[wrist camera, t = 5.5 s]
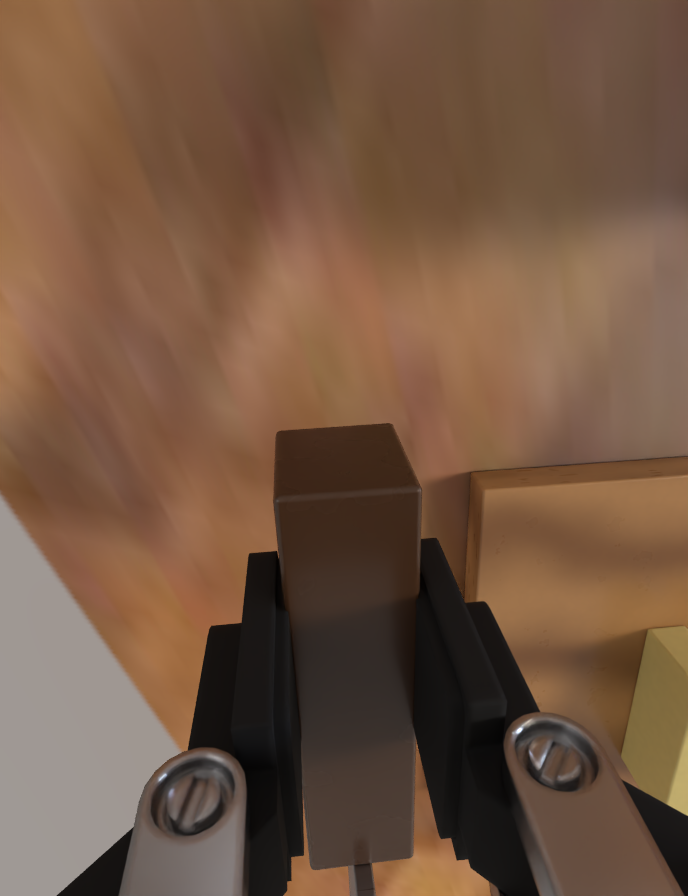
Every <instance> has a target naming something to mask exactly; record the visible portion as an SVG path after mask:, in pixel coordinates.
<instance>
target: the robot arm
mask: <svg viewBox="0 0 688 896" xmlns="http://www.w3.org/2000/svg"><path fill="white" fill-rule="evenodd" d="M414 732H415V736H416V740H417V744H418V749H419V753H420V757H421V761H422V766H423V770H424V774H425V778H426V783H427V787H428V791H429V795H430V800H431V804H432V808H433V812H434V817H435V821H436V825H437V829H438V833H439V836H440V838H441V839H445V838H451V839H452V843H453V847H454V851H455V855H456V859H457V860H465V859H468V860H469V864H470V867H471V868H472V869H473V870H474V871H476V872H477V873H478V874H480V875H481V876H482V877H484V878H485V879H486V880H488V881H489V886H490V893H491V896H688V816H687V815H685V814H683V813H681V812H680V811H678V810H676V809H674V808H672V807H671V806H669V805H667V804H665V803H663V802H662V801H660V800H658V799H656V798H654V797H653V796H651V795H649V794H647V793H645V792H644V791H642V790H640V789H638V788H636V787H635V786H633V785H631V784H629V783H627V782H625V781H624V780H622V779H621V778H620V776H619V774H618V773H617V771H616V769H615V767H614V765H613V763H612V762H611V760H610V758H609V756H608V754H607V752H606V750H605V749H604V748H603V746H602V745H601V743H600V742H599V741H598V739H597V738H596V737H595V736H594V735H593V734H592V733H591V732H590V731H589V730H587V729H586V728H585V727H584V726H583V725H581V724H579V723H577V722H576V721H574V720H572V719H570V718H568V717H565V716H562V715H558V714H555V713H548V712H540V710H539V708H538V706H537V704H536V702H535V700H534V698H533V695H532V693H531V691H530V689H529V687H528V685H527V683H526V681H525V679H524V677H523V675H522V673H521V671H520V669H519V667H518V665H517V663H516V660H515V658H514V656H513V654H512V652H511V650H510V648H509V646H508V644H507V642H506V640H505V638H504V636H503V634H502V632H501V630H500V627H499V625H498V623H497V621H496V619H495V617H494V615H493V613H492V611H491V609H490V607H489V606H488V604H487V603H486V602H484V601H478V602H467V603H465V602H464V599H463V597H462V595H461V592H460V590H459V588H458V585H457V583H456V581H455V578H454V576H453V574H452V572H451V569H450V567H449V565H448V562H447V560H446V558H445V555H444V553H443V551H442V548H441V546H440V544H439V541H438V540H437V538H428V539H421V555H420V596H419V599H417V600H416V640H415V688H414ZM303 855H304V834H303V797H302V760H301V735H300V725H299V715H298V705H297V695H296V684H295V674H294V664H293V654H292V644H291V633H290V623H289V613H288V611H286V610H285V609H284V602H283V592H282V583H281V573H280V563H279V558H278V553H277V551H272V552H261V553H250V554H249V557H248V566H247V576H246V586H245V595H244V605H243V615H242V623H238V624H227V625H216V626H211V627H210V629H209V633H208V638H207V644H206V649H205V655H204V661H203V666H202V672H201V678H200V684H199V689H198V695H197V701H196V706H195V712H194V718H193V723H192V729H191V735H190V741H189V746H188V751H184V752H182V753H180V754H178V755H177V756H175V757H173V758H171V759H169V760H168V761H167V762H165V763H164V764H163V765H162V766H161V767H160V768H159V769H157V770H156V771H155V772H154V774H153V775H152V777H151V778H150V779H149V781H148V782H147V784H146V785H145V787H144V790H143V793H142V795H141V798H140V801H139V805H138V809H137V814H136V818H135V823H134V827H133V828H132V829H131V830H130V831H129V832H127V833H126V834H125V835H124V836H123V837H122V838H121V839H120V840H119V841H117V842H116V843H115V844H114V845H113V846H112V847H111V848H110V849H109V850H107V851H106V852H105V853H104V854H103V855H102V856H101V857H99V858H98V859H97V860H96V861H95V862H94V863H93V864H92V865H91V866H89V867H88V868H87V869H86V870H85V871H84V872H83V873H82V874H80V875H79V876H78V877H77V878H76V879H75V880H74V881H73V882H72V883H70V884H69V885H68V886H67V887H66V888H65V889H64V890H63V891H61V892H60V893H59V894H58V895H57V896H283V895H284V894H285V893H286V891H287V881H291V857H295V856H303Z"/></svg>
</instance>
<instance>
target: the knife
mask: <svg viewBox="0 0 688 896" xmlns="http://www.w3.org/2000/svg"><path fill="white" fill-rule="evenodd" d="M273 504H274V514H275V523H276V533H277V543H278V553H279V563H280V573H281V583H282V592H283V602H284V609H285V610H286V611H288V613H289V623H290V633H291V644H292V654H293V664H294V674H295V684H296V695H297V705H298V715H299V725H300V735H301V760H302V790H303V800H304V809H305V819H306V829H307V839H308V849H309V859H310V866H311V868H312V869H313V870H320V869H328V868H336V867H344V866H348V870H349V889H350V896H376V892H375V884H374V877H373V869H372V863H376V862H384V861H392V860H400V859H408V858H411V857H412V856H413V848H414V806H415V764H416V736H415V732H414V688H415V640H416V600H417V599H419V596H420V555H421V513H422V488H421V486H420V484H419V482H418V480H417V477H416V475H415V473H414V471H413V469H412V466H411V464H410V462H409V460H408V458H407V455H406V453H405V451H404V449H403V447H402V444H401V442H400V440H399V438H398V435H397V433H396V431H395V429H394V427H393V425H392V424H389V423H386V424H372V425H357V426H343V427H329V428H314V429H300V430H286V431H279V432H277V434H276V441H275V468H274V495H273Z"/></svg>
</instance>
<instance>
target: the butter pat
mask: <svg viewBox="0 0 688 896" xmlns="http://www.w3.org/2000/svg"><path fill="white" fill-rule="evenodd" d="M621 758H622V760H623V761H624V763H625V765H626V766H627V768H628V770H629V771H630V773H631V775H632V776H633V778H634V780H635V781H636V783H637V785H638V786H639V788H640V790H642V791H644V792H645V793H647V794H649V795H651V796H653V797H654V798H656V799H658V800H660V801H662V802H663V803H665V804H667V805H669V806H671V807H672V808H674V809H676V810H678V811H680V812H681V813H683V814H685V815H687V816H688V629H687V628H686V627H685V626H674V627H663V628H652V629H648V631H647V636H646V640H645V645H644V650H643V654H642V659H641V664H640V669H639V673H638V678H637V683H636V687H635V692H634V697H633V701H632V706H631V711H630V715H629V720H628V725H627V730H626V734H625V739H624V744H623V748H622V753H621Z"/></svg>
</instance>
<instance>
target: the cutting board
mask: <svg viewBox="0 0 688 896" xmlns="http://www.w3.org/2000/svg"><path fill="white" fill-rule="evenodd" d="M478 601H484V602H486V603H487V604H488V606H489V607H490V609H491V611H492V613H493V615H494V617H495V619H496V621H497V623H498V625H499V627H500V630H501V632H502V634H503V636H504V638H505V640H506V642H507V644H508V646H509V648H510V650H511V652H512V654H513V656H514V658H515V660H516V663H517V665H518V667H519V669H520V671H521V673H522V675H523V677H524V679H525V681H526V683H527V685H528V687H529V689H530V691H531V693H532V695H533V698H534V700H535V702H536V704H537V706H538V708H539V710H540V712H548V713H555V714H558V715H562V716H565V717H568V718H570V719H572V720H574V721H576V722H577V723H579V724H581V725H583V726H584V727H585V728H586V729H587V730H589V731H590V732H591V733H592V734H593V735H594V736H595V737H596V738H597V739H598V741H599V742H600V743H601V745H602V746H603V748H604V749H605V750H606V752H607V754H608V756H609V758H610V760H611V762H612V763H613V765H614V767H615V769H616V771H617V773H618V774H619V776H620V778H621V779H622V780H624V781H625V782H627V783H629V784H631V785H633V786H635V787H636V788H638V789H640V788H639V786H638V785H637V783H636V781H635V780H634V778H633V776H632V775H631V773H630V771H629V770H628V768H627V766H626V765H625V763H624V761H623V760H622V758H621V753H622V748H623V744H624V739H625V734H626V730H627V725H628V720H629V715H630V711H631V706H632V701H633V697H634V692H635V687H636V683H637V678H638V673H639V669H640V664H641V659H642V654H643V650H644V645H645V640H646V636H647V631H648V629H652V628H663V627H674V626H685V627H686V628H687V629H688V457H675V458H661V459H647V460H634V461H620V462H606V463H592V464H579V465H565V466H551V467H537V468H523V469H510V470H496V471H482V472H472V473H471V482H470V501H469V520H468V538H467V557H466V576H465V595H464V602H465V603H467V602H478Z"/></svg>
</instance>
